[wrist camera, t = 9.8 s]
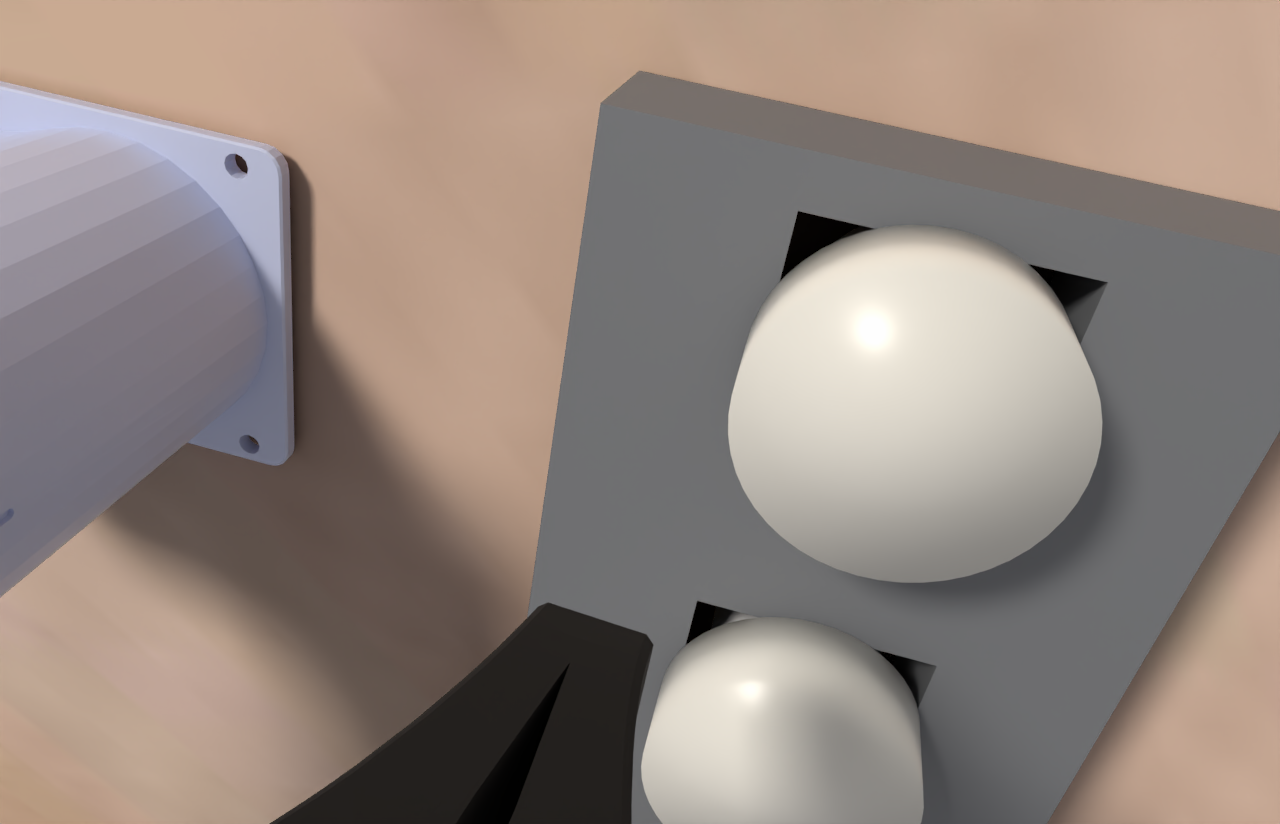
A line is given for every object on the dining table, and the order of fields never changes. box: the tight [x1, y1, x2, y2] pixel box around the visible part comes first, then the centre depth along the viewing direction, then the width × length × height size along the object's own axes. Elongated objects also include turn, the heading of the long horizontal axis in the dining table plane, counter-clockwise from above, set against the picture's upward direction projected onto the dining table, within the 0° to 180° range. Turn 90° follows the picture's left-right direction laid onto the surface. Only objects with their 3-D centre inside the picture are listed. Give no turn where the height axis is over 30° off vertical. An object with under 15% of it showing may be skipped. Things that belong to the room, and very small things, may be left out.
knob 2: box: [641, 606, 924, 824], centre depth 22 cm, size 6×6×5 cm
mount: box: [527, 71, 1280, 824], centre depth 23 cm, size 12×24×3 cm, turn 170°
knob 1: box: [728, 225, 1102, 583], centre depth 17 cm, size 6×6×5 cm
